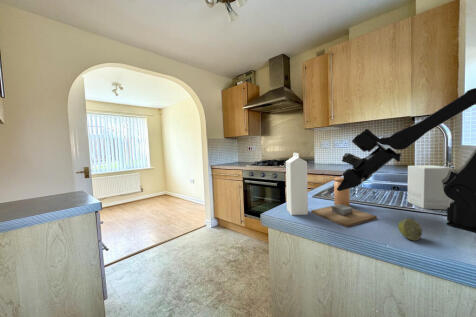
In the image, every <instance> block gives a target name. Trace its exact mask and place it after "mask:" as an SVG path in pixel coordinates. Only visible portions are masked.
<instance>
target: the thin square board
mask: <svg viewBox="0 0 476 317" xmlns="http://www.w3.org/2000/svg"><path fill="white" fill-rule="evenodd" d="M310 212H311V213H310V214H314V215H316V216H318V217H321V218H324V219H326V220H328V221H330V222H333V223H334V224H337V225H341V226H343V227H345V228H348V227H352V226H356V225H358V224H364V223H367V222H369V221H370V222H371V221H373V220H377V219H378V216H377V215H373V214H371V213H367V212H365V211H361V210H358V209H355V208H353V206H352V207H351V206H349V207H348V206H345V205H342V204H340V205H335V204H334V205H330V206H325V207H321V208H316V209H312V210H310Z"/></svg>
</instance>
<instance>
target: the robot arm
mask: <svg viewBox="0 0 476 317" xmlns="http://www.w3.org/2000/svg"><path fill="white" fill-rule="evenodd" d="M473 106H476V87H474V88H471V89H468V90H467V91H465V92H464V93H463V94H461V95H460V96H459V97H458V98H456V99H454V100H452V101H450V102H449V103H447V104H446V105H445V106H443V107H442V108H439V109H438V110H437V111H435V112H433V113H431V114H430V115H429V116H426V117H425V118H424V119H422V120H420V121H418V122H417V123H414V124H412V125H410V126H407V127H405V128H403V129H401V130H398V131H396V132H393V133H392V134H391V135H390V136H387V137H379V136H377V135H376V134H374V133H373V132H372V130H370V129H369V128H365V129H364V130H363V131H362V132H360V133H359V134H357V135H356V136H354V138H353V139H352V140H351V143H352V144H353V145H355V146H356V147H357V148H359V149H360V150H361V151H362V152H363V153H365V152H368V153H370V152H371V153H370V154H368V155H367V156H364V157H363V158H361V157H360V156H357V155H355V154H351V153H348V152H347V153H344V155H343V156H342V158H341V162H342V163H346V164H348V165H351V166H352V168H347V169H345V171H343V172H342V177H344V179H343V181H342V182H341V184H340V185H339V187H338V188H337V190H338V191H342V190H345V189H349V188H350V189H352V188H353V189H354V188H356V187H359V186H360V185H361V184H363V183H364V182H366V181H367V180H369V179H370V178H372V176H373V175H374V174H375V173H376V172H378V171H379V170H380V169H382V168H383V167H384V166H385V165H387V164H388V163H390V162H391V161H392V160H393V159H394V160H395V161H396V162H398V163H399V162H401V161H402V154H403V153H402V152H396V151H394V150H397V151H401V150H405V149H407V148H410V147H411V146H412V145H413V144H415V143H416V142H417V141H418V140H419V139H421V138H422V137H423V136H424V135H425V134H426V133H429V132H430V131H432V130H433V129H435V128H437V127H438V126H440V125H442V124H444V123H445V122H446V123H447V121H449V120H451V119H452V118H454V117H456V116H458V115H459V114H462V113H463V112H465V111H466V110H468V109H470V108H472V107H473ZM385 146H389V147H387V148H386V147H385ZM442 183H443V190H444V193H445V195H446V196H447V197H448V198H450V199H452V203H450V207H448V208H447V209H446V221H447V222H446V223H445V224H446V225H447V226H451V227H453V228H458V229H462V230H467V231H469V232H470V231H471V232H474V233H476V148H475V149H474V150H473V152H472V154H470V156H469V158H468V159H467V160H466V161H465V162H464V164H463V165H462V166H461V167H459V168H458V170H454V169H453V170H451V169H450V170H449V172H448V175H447V176H446V177H445V178H444V179H443V180H442Z"/></svg>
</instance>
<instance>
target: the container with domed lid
mask: <svg viewBox="0 0 476 317" xmlns="http://www.w3.org/2000/svg"><path fill="white" fill-rule="evenodd" d="M343 179H344V177H343V176H337V177H333V183H334V184H333V186H334V187H333V195H334V196H333V202H334V203H333V204H334V205H340V204H342V205H345V206H348V207H351V188H349V189H345V190H342V191H338V190H337V188H338V187H339V185H340V184H341V182H342V181H343Z"/></svg>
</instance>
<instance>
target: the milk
mask: <svg viewBox="0 0 476 317" xmlns="http://www.w3.org/2000/svg"><path fill="white" fill-rule="evenodd" d="M285 176H286V177H285V184H286V186H285V187H286V210H287V212H288V213H290V215H291V216H302V215H304V216H306V215H308V214H309V205H308V204H309V201H308V200H309V198H308V197H309V196H308V193H309V191H308V162H307V161H306V160H305V159H302V158H300V154H299V153H298V152H293V154H292V157H290V158H288V159H287V160H285Z"/></svg>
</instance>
